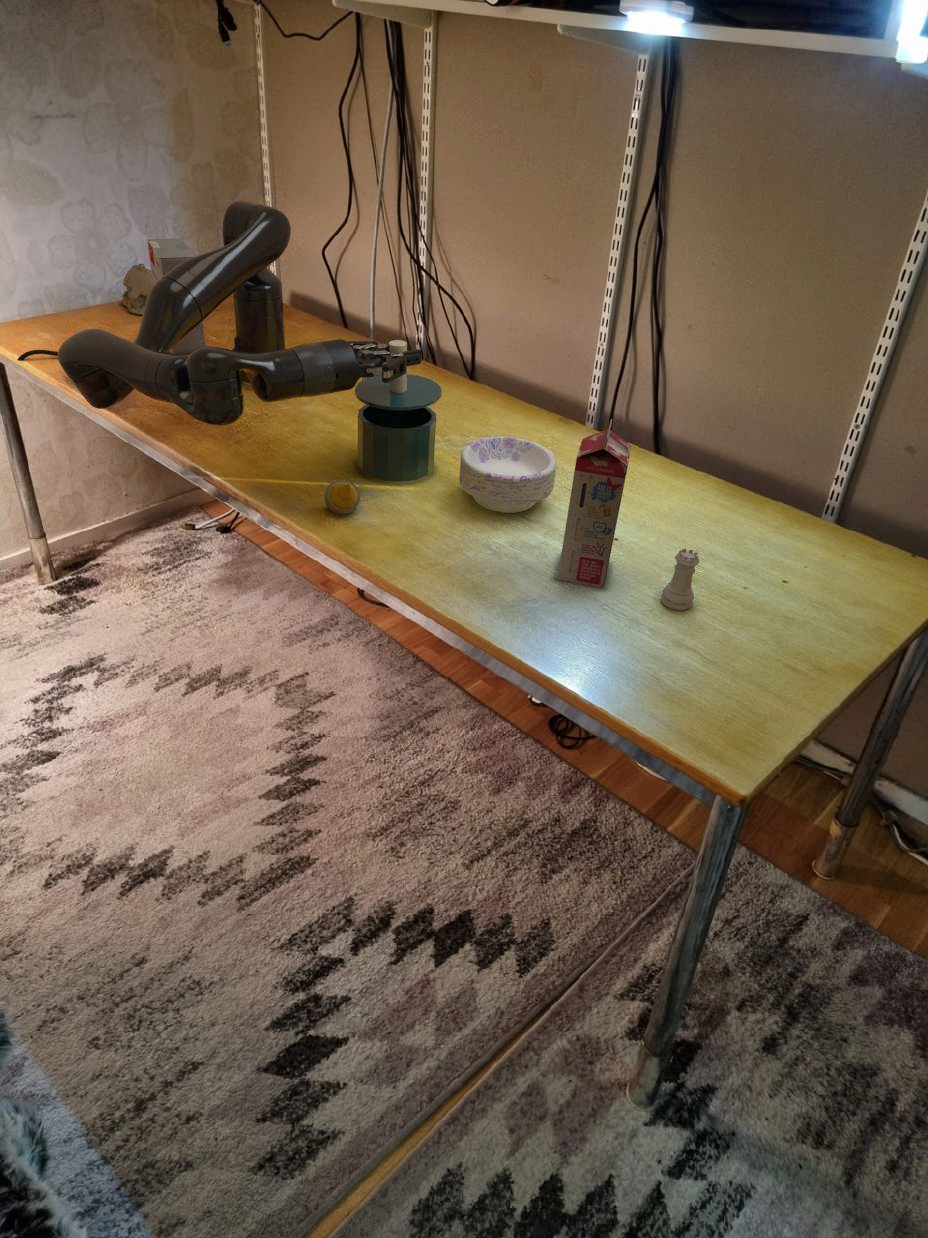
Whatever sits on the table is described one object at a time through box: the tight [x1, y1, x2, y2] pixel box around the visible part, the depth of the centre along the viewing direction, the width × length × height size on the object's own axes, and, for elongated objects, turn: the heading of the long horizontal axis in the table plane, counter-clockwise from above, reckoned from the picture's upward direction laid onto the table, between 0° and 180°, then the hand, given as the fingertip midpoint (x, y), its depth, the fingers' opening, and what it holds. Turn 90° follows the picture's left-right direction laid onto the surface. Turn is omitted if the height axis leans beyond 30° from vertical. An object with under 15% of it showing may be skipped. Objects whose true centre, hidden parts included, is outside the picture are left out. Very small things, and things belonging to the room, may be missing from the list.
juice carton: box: [556, 418, 632, 589], centre depth 119 cm, size 7×7×22 cm
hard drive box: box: [146, 238, 206, 355], centre depth 186 cm, size 16×8×20 cm, turn 25°
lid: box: [354, 339, 443, 410], centre depth 139 cm, size 14×14×9 cm
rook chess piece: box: [660, 547, 700, 611], centre depth 118 cm, size 4×4×8 cm
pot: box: [357, 404, 437, 483], centre depth 146 cm, size 13×13×10 cm
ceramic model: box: [121, 263, 153, 316], centre depth 208 cm, size 14×11×10 cm
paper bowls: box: [458, 436, 558, 514], centre depth 139 cm, size 15×15×8 cm
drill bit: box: [323, 478, 361, 516], centre depth 132 cm, size 5×5×10 cm
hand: (414, 353), depth 139 cm, fingers closed on lid, 3 cm apart
